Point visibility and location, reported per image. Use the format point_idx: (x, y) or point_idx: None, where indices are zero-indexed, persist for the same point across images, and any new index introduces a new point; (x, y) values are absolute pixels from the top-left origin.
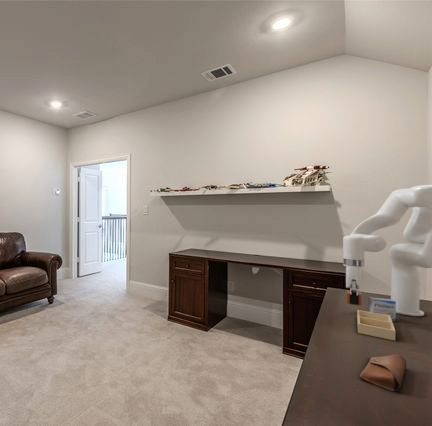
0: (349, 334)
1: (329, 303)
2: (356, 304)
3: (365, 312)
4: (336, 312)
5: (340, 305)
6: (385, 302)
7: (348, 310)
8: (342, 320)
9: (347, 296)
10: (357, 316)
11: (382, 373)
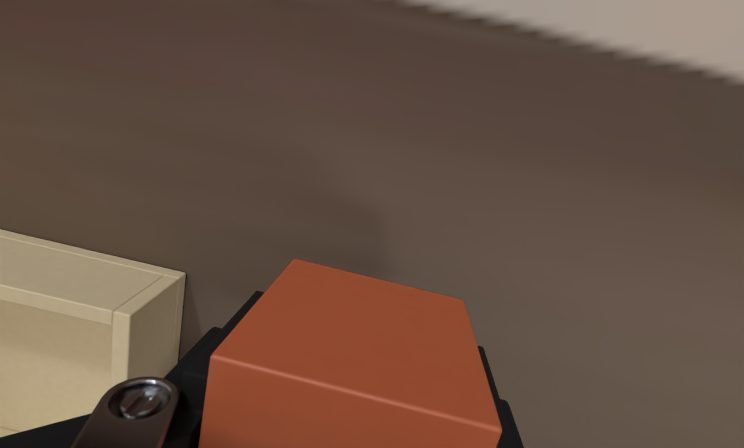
0: None
1: (710, 104)
2: None
3: (116, 371)
4: (285, 108)
5: (648, 224)
6: None
7: (446, 260)
8: (2, 109)
9: (246, 319)
10: (41, 265)
11: None
